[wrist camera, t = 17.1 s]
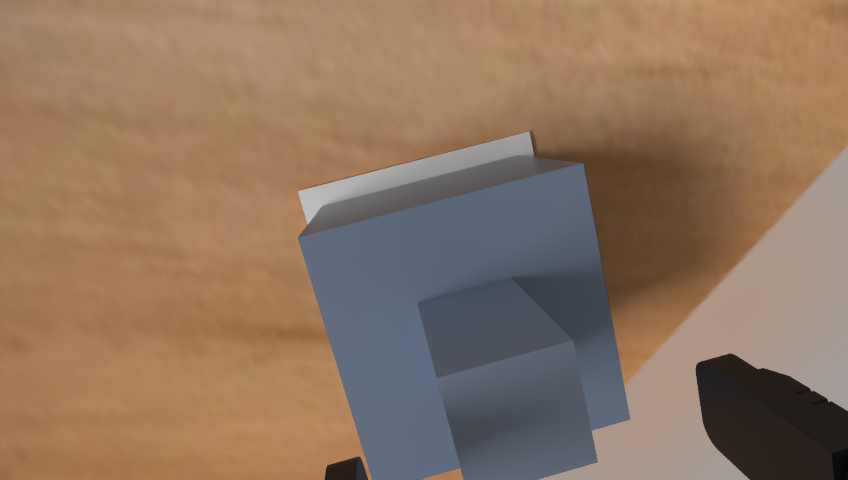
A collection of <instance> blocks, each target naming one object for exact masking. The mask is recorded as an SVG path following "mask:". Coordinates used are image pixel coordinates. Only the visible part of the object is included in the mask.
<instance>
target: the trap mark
mask: <svg viewBox="0 0 848 480" xmlns="http://www.w3.org/2000/svg"><path fill="white" fill-rule="evenodd" d="M516 155H520V156H528V157H534V152H533V147H532V142H531V137H530V132H525V133H521V134H517V135H513V136H509V137H505V138H502V139H498V140H494V141H490V142H486V143H482V144H478V145H474V146H471V147H467V148H463V149H459V150H455V151H451V152H447V153H443V154H439V155H436V156H432V157H428V158H424V159H420V160H416V161H412V162H408V163H404V164H401V165H397V166H393V167H389V168H385V169H381V170H377V171H373V172H369V173H366V174H362V175H358V176H354V177H350V178H346V179H342V180H338V181H335V182H331V183H327V184H323V185H319V186H315V187H311V188H307V189H303V190H300V191H298V194H299V197H300V200H301V204H302V207H303V210H304V213H305V217H306V220H307V223H308V224H309V222H310V221H311V220H312V219H313V217H314V216H315V215H316V213H317V212H318V211H319V209H320V208H321V207H322V206H324V205H327V204H331V203H335V202H339V201H343V200H347V199H351V198H354V197H358V196H362V195H366V194H370V193H374V192H378V191H381V190H385V189H389V188H393V187H397V186H401V185H404V184H408V183H412V182H416V181H420V180H424V179H428V178H431V177H435V176H439V175H443V174H447V173H451V172H455V171H458V170H462V169H466V168H470V167H474V166H478V165H482V164H485V163H489V162H493V161H497V160H501V159H505V158H508V157H512V156H516Z"/></svg>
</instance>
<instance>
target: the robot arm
mask: <svg viewBox="0 0 848 480" xmlns="http://www.w3.org/2000/svg"><path fill="white" fill-rule="evenodd" d="M696 376H697V384H698V390H699V398H700V405H701V411H702V419H703V424H704V427H705V430H706V432H707V434H708V436H709V438H710V440H711V442H712V443H713V444H714V446H715V447H716V448H717V449H718V450H719V451H720V452H721V453H722V454H723V455H724V456H725V457H726V458H727V459H728V460H730V461H731V462H732V463H733V464H734V465H735V466H736V467H737V468H738V469H739V470H740V471H741V472H742V473H743V474H744V475H745V476H747V477H748V478H749V479H750V480H848V411H847V410H845V409H843V408H842V407H840V406H838V405H837V404H835V403H833V402H828V400H827V398H825V397H823V396H821V395H820V394H818V393H816V392H815V391H811V390H810V388H808V387H806V386H805V385H803V384H801V383H800V382H798V381H796V380H795V379H793V378H791V377H790V376H787V375H784V374H780V373H777V372H774V371H771V370H768V369H764V368H762V369H756V368H755V367H753V366H752V365H750V364H748V363H747V362H745V361H744V360H742V359H740V358H739V357H737V356H735V355H734V354H727V355H723V356H720V357H716V358H712V359H709V360H705V361H702V362H699V363H698V364H697V366H696ZM325 480H368V478H367V474H366V471H365V468H364V465H363V462H362V460H361V458H360V457H356V458H352V459H348V460H345V461H341V462H338V463H334V464H331V465H328V466H327V468H326V474H325Z"/></svg>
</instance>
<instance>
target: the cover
mask: <svg viewBox="0 0 848 480" xmlns="http://www.w3.org/2000/svg"><path fill="white" fill-rule="evenodd" d="M298 240H299V243H300V246H301V250H302V253H303V256H304V259H305V263H306V266H307V269H308V272H309V276H310V279H311V282H312V285H313V289H314V292H315V295H316V298H317V302H318V305H319V308H320V311H321V315H322V318H323V321H324V324H325V328H326V331H327V334H328V337H329V341H330V344H331V347H332V350H333V354H334V357H335V360H336V363H337V367H338V370H339V373H340V376H341V380H342V383H343V386H344V389H345V393H346V396H347V399H348V402H349V406H350V409H351V412H352V415H353V419H354V422H355V425H356V428H357V432H358V435H359V438H360V441H361V445H362V448H363V451H364V454H365V458H366V461H367V464H368V468H369V471H370V474H371V477H372V480H419V479H423V478H426V477H430V476H433V475H437V474H440V473H444V472H448V471H451V470H455V469H458V468H461V471H462V475H463V479H464V480H538V479H541V478H544V477H548V476H551V475H554V474H558V473H562V472H565V471H569V470H572V469H575V468H579V467H583V466H586V465H590V464H593V463H597V462H598V461H597V456H596V451H595V446H594V441H593V436H592V431H591V430H595V429H598V428H602V427H605V426H609V425H612V424H616V423H619V422H623V421H626V420H630V416H629V410H628V405H627V400H626V394H625V388H624V383H623V378H622V372H621V367H620V361H619V356H618V350H617V345H616V339H615V334H614V328H613V323H612V317H611V312H610V306H609V301H608V295H607V290H606V284H605V279H604V274H603V268H602V263H601V257H600V252H599V246H598V241H597V235H596V230H595V224H594V219H593V213H592V208H591V202H590V197H589V191H588V186H587V180H586V175H585V170H584V164H583V163H579V162H571V161H562V160H554V159H545V158H537V157H528V156H520V155H516V156H512V157H508V158H505V159H501V160H497V161H493V162H489V163H485V164H482V165H478V166H474V167H470V168H466V169H462V170H458V171H455V172H451V173H447V174H443V175H439V176H435V177H431V178H428V179H424V180H420V181H416V182H412V183H408V184H404V185H401V186H397V187H393V188H389V189H385V190H381V191H378V192H374V193H370V194H366V195H362V196H358V197H354V198H351V199H347V200H343V201H339V202H335V203H331V204H327V205H324V206H322V207H321V208H320V209H319V211H318V212H317V213H316V215H315V216H314V217H313V219H312V220H311V221H310V222H309V224H308V225H307V226H306V228H305V229H304V230H303V232H302V233H301V234H300V236H299V237H298Z"/></svg>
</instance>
